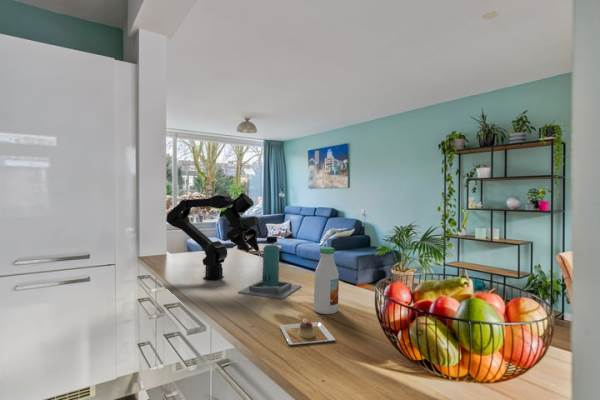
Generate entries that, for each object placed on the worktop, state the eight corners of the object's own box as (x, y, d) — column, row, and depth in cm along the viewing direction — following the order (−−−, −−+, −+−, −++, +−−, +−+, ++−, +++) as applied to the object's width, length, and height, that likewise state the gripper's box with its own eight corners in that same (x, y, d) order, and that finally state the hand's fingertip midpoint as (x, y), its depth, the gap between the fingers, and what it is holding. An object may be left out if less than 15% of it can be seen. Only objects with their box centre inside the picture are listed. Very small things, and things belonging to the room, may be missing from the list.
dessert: (335, 344, 82) (336, 325, 82) (288, 349, 79) (289, 329, 79) (320, 325, 94) (320, 308, 94) (279, 329, 91) (279, 311, 91)
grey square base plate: (237, 292, 122) (237, 287, 122) (261, 281, 138) (261, 276, 138) (282, 299, 115) (282, 293, 115) (301, 287, 132) (301, 281, 132)
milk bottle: (321, 316, 100) (323, 250, 100) (309, 308, 107) (310, 246, 107) (342, 312, 103) (344, 248, 103) (329, 305, 110) (331, 245, 110)
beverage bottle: (279, 286, 130) (280, 235, 130) (278, 291, 124) (279, 237, 123) (262, 285, 130) (264, 235, 130) (260, 290, 123) (262, 237, 123)
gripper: (238, 206, 128) (258, 239, 124) (259, 210, 146) (277, 240, 142) (217, 222, 130) (236, 256, 126) (240, 225, 148) (257, 254, 144)
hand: (253, 251), depth 134 cm, fingers open, 9 cm apart
